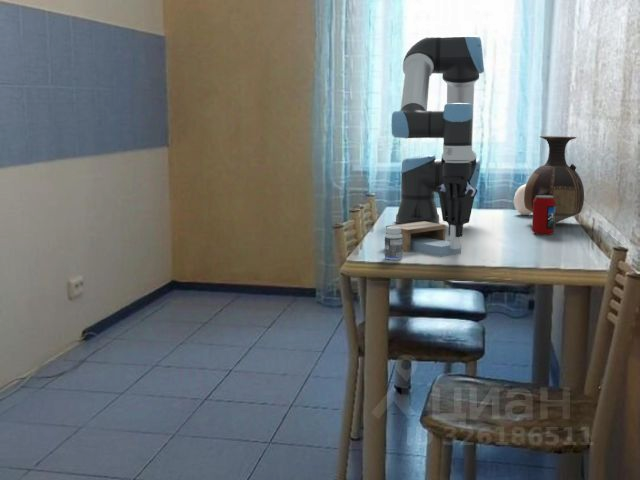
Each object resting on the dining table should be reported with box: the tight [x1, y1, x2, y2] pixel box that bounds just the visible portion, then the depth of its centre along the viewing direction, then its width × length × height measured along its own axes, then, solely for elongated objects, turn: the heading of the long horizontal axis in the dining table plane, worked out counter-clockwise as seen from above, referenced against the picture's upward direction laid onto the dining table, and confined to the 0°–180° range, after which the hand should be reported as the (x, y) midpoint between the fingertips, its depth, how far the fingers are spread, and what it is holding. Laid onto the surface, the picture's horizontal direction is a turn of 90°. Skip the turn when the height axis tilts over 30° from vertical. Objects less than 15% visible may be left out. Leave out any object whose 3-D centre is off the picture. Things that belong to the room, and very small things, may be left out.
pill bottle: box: [384, 225, 403, 261], centre depth 201 cm, size 5×5×8 cm
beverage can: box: [531, 195, 556, 236], centre depth 239 cm, size 7×7×12 cm
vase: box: [524, 135, 585, 224], centre depth 256 cm, size 23×19×30 cm
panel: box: [410, 237, 462, 257], centre depth 213 cm, size 15×8×3 cm, turn 38°
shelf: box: [385, 221, 447, 253], centre depth 218 cm, size 9×15×6 cm, turn 127°
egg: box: [513, 183, 533, 216], centre depth 282 cm, size 9×9×12 cm
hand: (455, 248), depth 207 cm, fingers closed
